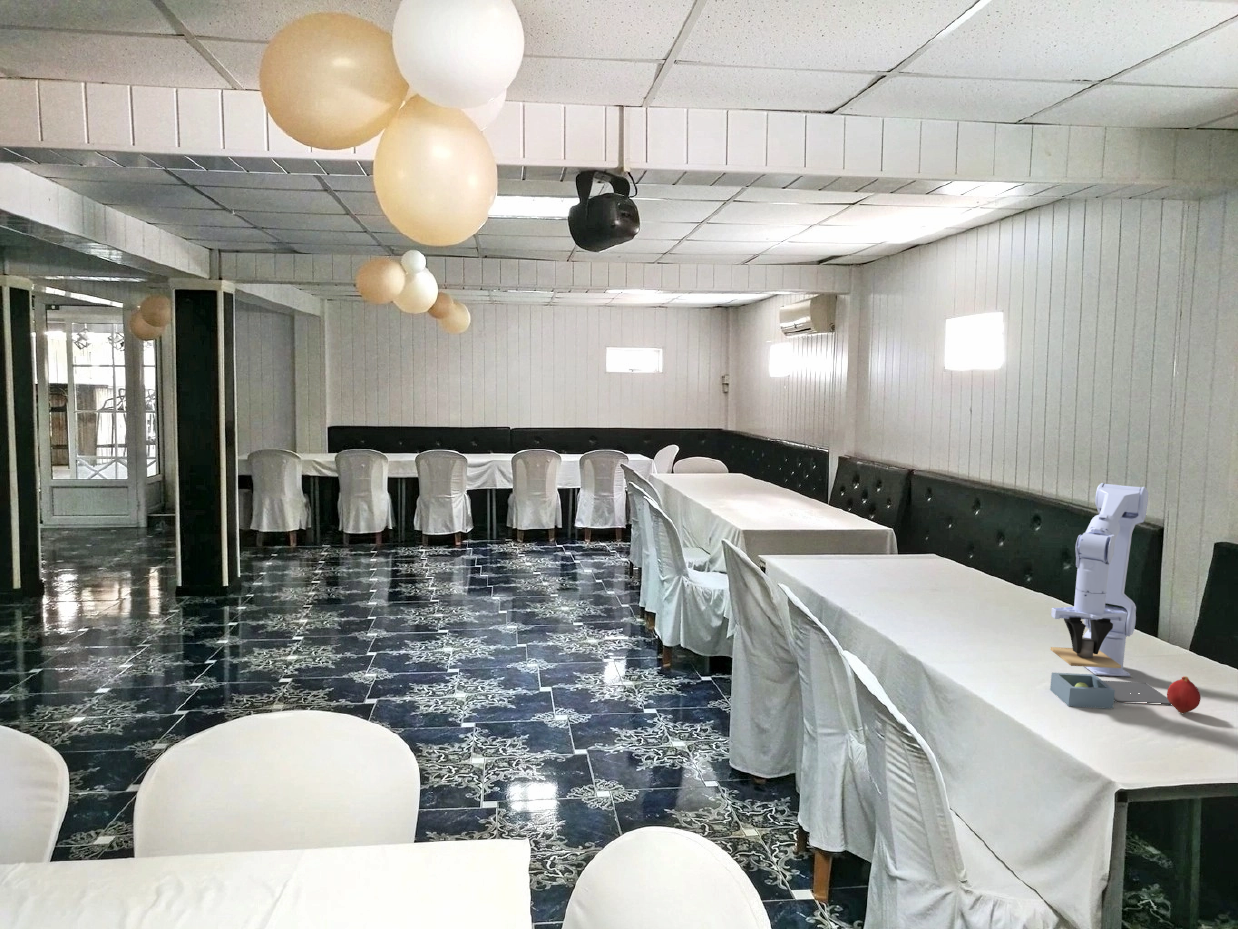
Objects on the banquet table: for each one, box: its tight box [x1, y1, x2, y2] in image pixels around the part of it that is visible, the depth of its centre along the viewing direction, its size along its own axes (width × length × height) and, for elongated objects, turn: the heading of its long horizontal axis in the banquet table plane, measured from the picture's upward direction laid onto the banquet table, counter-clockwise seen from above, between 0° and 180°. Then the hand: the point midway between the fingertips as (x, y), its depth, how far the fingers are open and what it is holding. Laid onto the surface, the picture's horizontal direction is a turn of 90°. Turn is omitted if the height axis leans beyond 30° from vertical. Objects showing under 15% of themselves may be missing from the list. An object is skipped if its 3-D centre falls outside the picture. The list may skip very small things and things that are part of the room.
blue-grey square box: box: [1049, 672, 1115, 709], centre depth 182 cm, size 9×9×4 cm
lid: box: [1049, 636, 1121, 668], centre depth 181 cm, size 10×10×4 cm
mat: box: [1101, 679, 1171, 704], centre depth 187 cm, size 12×12×1 cm
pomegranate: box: [1166, 675, 1201, 714], centre depth 176 cm, size 6×6×8 cm
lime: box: [1075, 682, 1088, 687], centre depth 182 cm, size 3×3×3 cm
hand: (1085, 652), depth 181 cm, fingers closed on lid, 3 cm apart
